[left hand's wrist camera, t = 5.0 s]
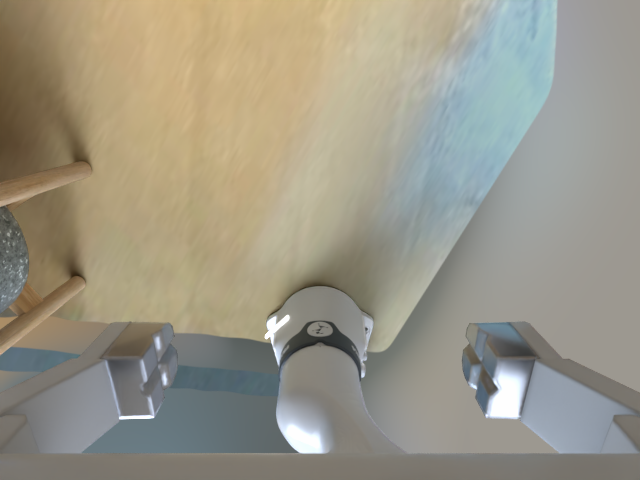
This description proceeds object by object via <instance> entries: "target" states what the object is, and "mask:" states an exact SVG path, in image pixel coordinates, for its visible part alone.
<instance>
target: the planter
mask: <svg viewBox="0 0 640 480" xmlns="http://www.w3.org/2000/svg"><path fill="white" fill-rule="evenodd" d="M91 173H92V169H91V167H90V165H89V164H88V163H86V162H84V161H79V162H76V163H72V164H68V165H64V166H60V167H57V168H53V169H49V170H45V171H41V172H37V173H34V174H30V175H26V176H22V177H18V178H15V179H11V180H7V181H3V182H0V313H1V312H3V311H4V310H5V309H7V308H8V307H9V308H10V309H11V310H12V311H13V312H14V313H15V314H16V315H17V316H18V317H17V318H16V319H14V320H13V321H12V322H10V323H9V324H7V325H6V326H5V327H3V328H2V329H1V330H0V355H1V354H2V353H3V352H5V351H6V350H7V349H8V348H10V347H11V346H12V345H13V344H15V343H16V342H17V341H18V340H20V339H21V338H22V337H23V336H25V335H26V334H27V333H28V332H30V331H31V330H32V329H33V328H34V327H36V326H37V325H38V324H40V323H41V322H42V321H43V320H45V319H46V318H47V317H48V316H49V315H51V314H52V313H53V312H54V311H56V310H57V309H58V308H59V307H61V306H62V305H63V304H64V303H66V302H67V301H68V300H69V299H71V298H72V297H73V296H74V295H76V294H77V293H78V292H79V291H81V290H82V289H83V288H84V287H85V285H86V283H85V281H84V279H83V278H81V277H79V276H74V277H72V278H71V279H70V280H68V281H67V282H65V283H64V284H63V285H61V286H60V287H59V288H57V289H56V290H54V291H53V292H52V293H50V294H49V295H48V296H46V297H45V298H43V299H42V298H41V297H40V296H39V295H38V294H37V293H36V292H35V291H34V290H33V289H32V288H31V287H30V286H29V285H28V283H27V282H26V280H27V276H28V271H29V254H28V248H27V244H26V241H25V238H24V235H23V233H22V230H21V228H20V226H19V225H18V223H17V221H16V219H15V218H14V216H13V215H12V213H11V212H10V211H12V210H13V209H15V208H16V207H18V206H19V205H21V204H22V203H24V202H25V201H27V200H28V199H30V198H31V197H33V196H34V195H37V194H40V193H43V192H45V191H48V190H51V189H54V188H57V187H60V186H63V185H66V184H69V183H72V182H75V181H78V180H81V179H84V178H87V177H89V176H90V175H91Z"/></svg>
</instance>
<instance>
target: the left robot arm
mask: <svg viewBox="0 0 640 480" xmlns="http://www.w3.org/2000/svg"><path fill="white" fill-rule="evenodd" d="M365 327H366V328H367V329H365ZM267 328H268V333H267V334H266V336H265V338H266V339H267V338H268V337H269V336H270V339H271V342H272V345H273V349H274V352H275V356H276V359H277V362H278V366H279V368H278V369H279V381H280V387H279V394H278V402H277V409H276V417H277V422H278V425H279V428H280V430H281V432H282V434H283V435H284V437H285V438H286V440H287V441H288V442H289V444H290V445H291V446H292V447H293V448H294V449H295V450H297V451H298V452H300V453H81V452H82V451H83V450H85V449H86V448H87V447H88V446H90V445H91V444H92V443H93V442H94V441H96V440H97V439H98V438H99V437H101V436H102V435H103V434H104V433H105V432H107V431H108V430H109V429H110V428H112V427H113V426H114V425H115V424H117V423H118V422H119V421H120V419H135V418H154V417H155V415H156V414H157V412H158V410H159V408H160V406H161V404H162V402H163V400H164V398H165V396H164V391H163V390H165V389H166V388H168V387H169V386H171V385H172V383H173V381H174V379H175V376H176V372H177V367H178V355H177V350H176V349H175V348H174V347H173V346H172V345H171V341H172V339H173V338H174V331H173V326H172V325H171V324H170V323H164V322H113V323H111V324H110V325H109V326H108V327H107V328H106V329H105V330H104V331H103V332H102V333H101V334H100V335H99V336H98V337H97V338H96V339H95V340H94V342H93V343H92V344H91V345H90V346H89V347H88V348H87V349H86V350H85V351H84V352H83V353H82V354H81V355H80V356H79V357H78V359H70V360H68V361H66V362H63V363H61V364H59V365H57V366H55V367H53V368H51V369H49V370H47V371H45V372H42V373H40V374H38V375H36V376H34V377H32V378H30V379H28V380H26V381H24V382H22V383H20V384H17V385H15V386H13V387H11V388H9V389H7V390H5V391H3V392H1V393H0V480H640V393H639V392H637V391H635V390H633V389H631V388H629V387H627V386H625V385H623V384H620V383H618V382H616V381H614V380H612V379H610V378H608V377H606V376H604V375H602V374H600V373H597V372H595V371H593V370H591V369H589V368H587V367H585V366H583V365H581V364H579V363H577V362H574V361H572V360H570V359H562V357H561V356H560V355H559V354H558V353H557V352H556V351H555V350H554V349H553V348H552V347H551V346H550V345H549V344H548V343H547V341H546V340H545V339H544V338H543V337H542V336H541V335H540V334H539V333H538V332H537V331H536V330H535V329H534V328H533V327H532V326H531V324H529V323H527V322H503V323H469V325H468V327H467V331H466V338H467V339H468V341H469V345H468V346H467V347H466V348H465V349H464V350H463V356H462V366H463V372H464V376H465V379H466V381H467V383H468V385H469V386H471V387H472V388H474V389H475V390H477V391H476V396H475V398H476V400H477V402H478V404H479V406H480V408H481V410H482V412H483V413H484V415H485V417H486V418H504V419H520V421H521V422H523V423H524V424H525V425H526V426H527V427H529V428H530V429H531V430H532V431H533V432H535V433H536V434H537V435H538V436H540V437H541V438H542V439H543V440H544V441H546V442H547V443H548V444H549V445H551V446H552V447H553V448H554V449H555V450H557V451H558V452H559V453H407V452H406V451H404V450H403V449H401V448H400V447H399V446H397V445H396V444H395V443H394V442H393V441H391V440H390V439H389V438H388V437H387V436H386V435H385V434H384V433H383V432H382V431H381V430H380V429H379V427H378V426H377V425H376V424H375V423H374V421H373V420H372V418H371V417H370V415H369V413H368V412H367V409H366V406H365V403H364V399H363V395H362V391H361V385H360V381H361V377H364V375H365V364H363V361H366V359H367V353H366V349H367V346H368V342H369V339H370V335H371V332H372V328H373V318H372V317H371V316H369V315H368V314H366V313H365V312H363V311H361V310H360V309H359V308H358V306H357V305H356V304H355V302H354V301H353V300H352V299H351V298H350V297H349V296H348V295H347V294H345V293H344V292H342V291H340V290H338V289H335V288H331V287H326V286H314V287H309V288H305V289H302V290H300V291H298V292H296V293H295V294H293V295H292V296H291V297H290V298H289V299H288V300H287V301H286V302H285V304H284V305H283V307H282V308H281V309H280V310H279V311H277V312H275V313H274V314H272V315H271V316H269V317H268V318H267Z"/></svg>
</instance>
